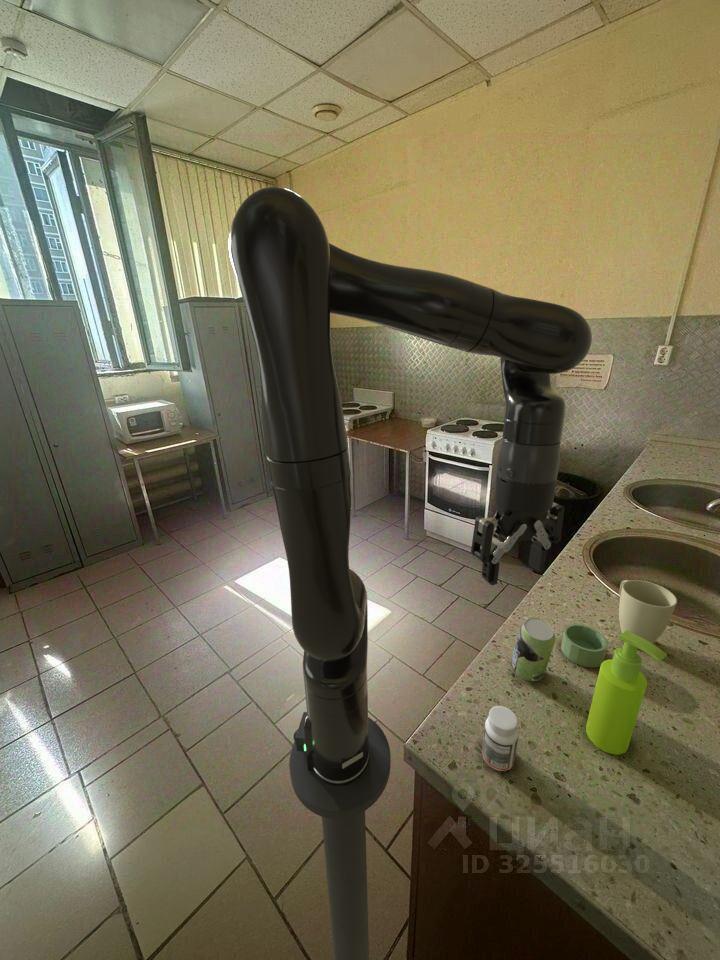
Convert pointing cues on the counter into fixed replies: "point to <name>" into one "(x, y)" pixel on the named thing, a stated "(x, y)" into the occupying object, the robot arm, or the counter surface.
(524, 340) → the robot arm
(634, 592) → the mug
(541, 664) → the beverage can
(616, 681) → the soap dispenser
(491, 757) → the pill bottle
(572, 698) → the counter surface
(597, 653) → the holder
